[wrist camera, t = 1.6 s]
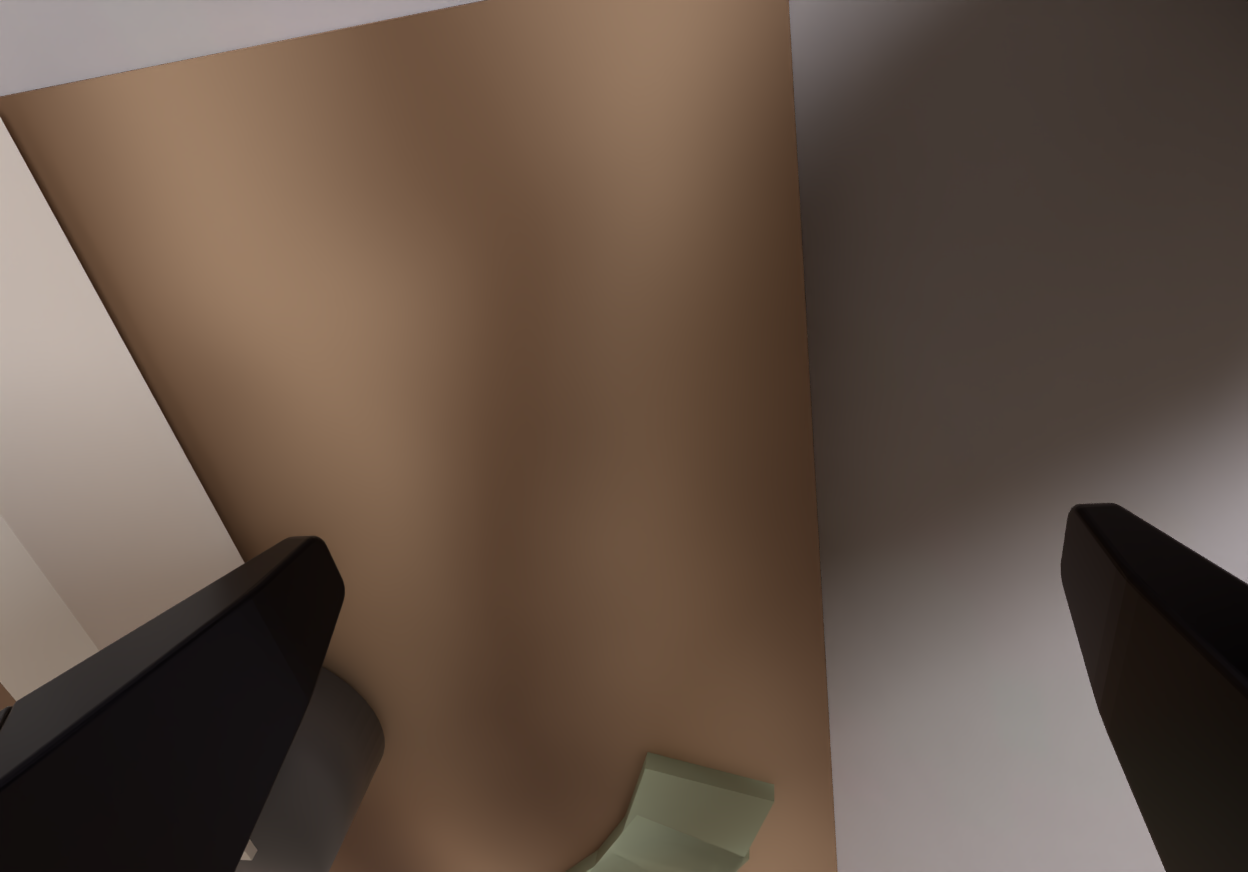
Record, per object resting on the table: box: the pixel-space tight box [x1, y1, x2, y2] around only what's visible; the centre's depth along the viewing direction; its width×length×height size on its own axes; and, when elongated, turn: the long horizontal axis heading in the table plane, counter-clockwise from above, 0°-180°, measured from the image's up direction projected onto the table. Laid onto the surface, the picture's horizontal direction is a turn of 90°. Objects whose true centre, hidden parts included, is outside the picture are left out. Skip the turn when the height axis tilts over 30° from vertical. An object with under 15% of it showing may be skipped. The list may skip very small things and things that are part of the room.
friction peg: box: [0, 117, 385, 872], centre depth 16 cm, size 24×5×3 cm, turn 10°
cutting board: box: [0, 0, 837, 872], centre depth 18 cm, size 24×25×2 cm
